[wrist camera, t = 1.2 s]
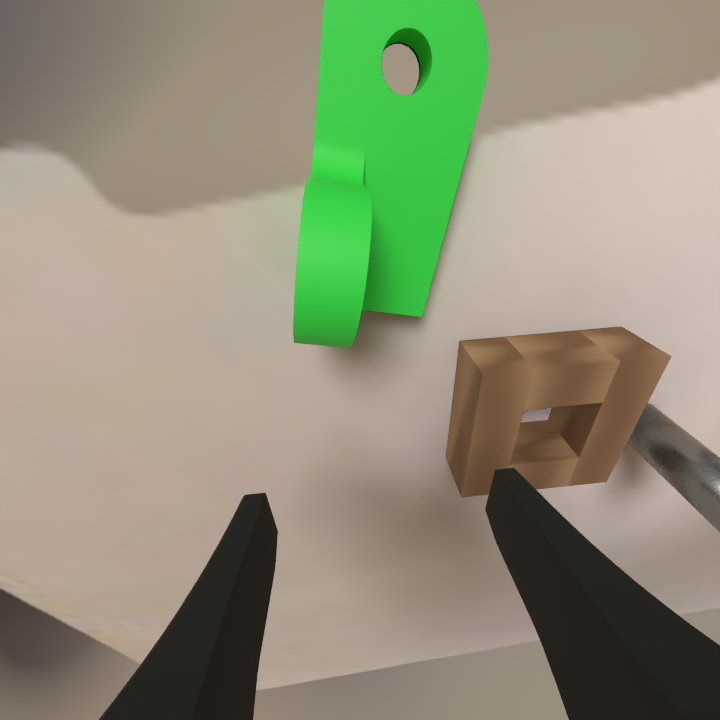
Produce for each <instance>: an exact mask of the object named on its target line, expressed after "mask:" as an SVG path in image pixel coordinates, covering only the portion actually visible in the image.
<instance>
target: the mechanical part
mask: <svg viewBox="0 0 720 720" xmlns="http://www.w3.org/2000/svg"><path fill="white" fill-rule="evenodd" d="M393 44H403V45H405V46H407V47H409V48H410V49H411V50H412V51H413V53H414V54H415V56H416V58H417V61H418V65H419V79H418V83H417V86H416V88H415V90H414V92H413V93H412V94H411V95H407V96H403V95H399V94H396V93H395V92H393V91H392V90H391V89H390V88H389V87H388V86H387V84H386V82H385V80H384V78H383V74H382V70H381V58H382V53H383V51H384V50H385V48H387V47H389V46H391V45H393ZM487 63H488V49H487V39H486V32H485V26H484V23H483V19H482V15H481V12H480V10H479V7H478V4H477V2H476V0H324V5H323V21H322V34H321V48H320V62H319V76H318V92H317V105H316V120H315V135H314V147H313V159H312V168H311V175H310V177H309V178H308V179H307V181H306V185H305V191H304V197H303V205H302V213H301V222H300V232H299V243H298V254H297V267H296V281H295V297H294V323H293V335H294V343H303V344H313V345H323V346H334V347H344V348H351V347H352V345H353V342H354V340H355V337H356V333H357V329H358V325H359V321H360V316H361V311H362V310H367V311H375V312H384V313H393V314H402V315H411V316H419V317H422V315H423V311H424V308H425V304H426V300H427V297H428V293H429V289H430V286H431V282H432V278H433V275H434V271H435V267H436V264H437V260H438V256H439V253H440V249H441V245H442V242H443V238H444V234H445V231H446V227H447V223H448V220H449V216H450V212H451V209H452V205H453V201H454V198H455V194H456V190H457V187H458V183H459V179H460V176H461V172H462V168H463V165H464V161H465V158H466V154H467V150H468V147H469V143H470V139H471V136H472V132H473V128H474V124H475V121H476V117H477V113H478V110H479V106H480V103H481V98H482V95H483V91H484V87H485V81H486V75H487Z"/></svg>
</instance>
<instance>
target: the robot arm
mask: <svg viewBox="0 0 720 720" xmlns="http://www.w3.org/2000/svg"><path fill="white" fill-rule="evenodd" d="M485 510H486V513H487V516H488V519H489V522H490V525H491V528H492V531H493V534H494V537H495V540H496V543H497V545H498V547H499V550H500V552H501V554H502V556H503V558H504V561H505V563H506V565H507V567H508V569H509V572H510V574H511V576H512V578H513V580H514V582H515V585H516V587H517V589H518V591H519V593H520V596H521V598H522V600H523V602H524V604H525V606H526V609H527V611H528V613H529V615H530V617H531V619H532V622H533V624H534V626H535V629H536V631H537V633H538V636H539V638H540V641H541V643H542V646H543V648H544V651H545V654H546V657H547V659H548V662H549V665H550V668H551V670H552V673H553V676H554V678H555V681H556V684H557V687H558V690H559V692H560V695H561V698H562V701H563V704H564V707H565V710H566V713H567V715H568V718H569V720H720V645H718V644H717V643H716V642H714V641H713V640H711V639H710V638H709V637H707V636H706V635H704V634H703V633H702V632H700V631H699V630H697V629H696V628H695V627H693V626H692V625H690V624H689V623H688V622H686V621H685V620H683V618H681V617H680V616H679V615H677V614H676V613H675V612H673V611H672V610H671V609H669V608H668V607H667V606H666V605H664V604H663V603H662V602H660V601H659V600H658V599H657V598H655V597H654V596H653V595H652V594H650V593H649V592H648V591H647V590H645V589H644V588H643V587H642V586H640V585H639V584H638V583H637V582H635V581H634V580H633V579H632V578H631V577H629V576H628V575H627V574H626V573H625V572H624V571H622V570H621V569H620V568H619V567H618V566H616V565H615V564H614V563H613V562H612V561H611V560H610V559H609V558H607V557H606V556H605V555H604V554H603V553H602V552H601V551H599V550H598V549H597V548H596V547H595V546H594V545H593V544H592V543H591V542H589V541H588V540H587V539H586V538H585V537H584V536H583V535H582V534H581V533H580V532H579V531H578V530H577V529H576V528H575V527H573V526H572V525H571V524H570V523H569V522H568V521H567V520H566V519H565V518H564V517H563V516H562V515H561V514H560V513H559V512H558V511H557V510H556V509H555V508H554V507H553V506H552V505H551V504H550V503H549V502H548V501H547V500H546V499H545V498H544V497H543V496H542V495H541V494H540V493H539V492H538V491H537V490H536V489H535V488H534V487H533V486H532V485H531V484H530V483H529V482H528V481H527V480H526V479H525V478H524V477H523V476H522V475H521V474H520V473H519V472H518V471H517V470H516V469H515V468H506V469H496V470H495V472H494V476H493V480H492V484H491V488H490V492H489V496H488V500H487V505H486V509H485ZM277 534H278V531H277V528H276V524H275V521H274V518H273V515H272V512H271V509H270V506H269V502H268V499H267V496H266V493H259V494H250V495H245V496H244V497H243V498H242V500H241V502H240V504H239V506H238V508H237V510H236V512H235V514H234V516H233V518H232V520H231V522H230V524H229V526H228V528H227V530H226V531H225V533H224V535H223V537H222V539H221V541H220V542H219V544H218V546H217V548H216V549H215V551H214V553H213V555H212V556H211V558H210V560H209V562H208V563H207V565H206V567H205V568H204V570H203V572H202V574H201V575H200V577H199V579H198V580H197V582H196V583H195V585H194V586H193V588H192V590H191V591H190V593H189V594H188V596H187V598H186V599H185V601H184V602H183V604H182V605H181V607H180V609H179V610H178V612H177V613H176V615H175V616H174V618H173V619H172V621H171V622H170V624H169V625H168V627H167V628H166V630H165V631H164V633H163V634H162V636H161V637H160V638H159V640H158V641H157V643H156V644H155V645H154V647H153V648H152V650H151V651H150V653H149V654H148V655H147V657H146V658H145V660H144V661H143V662H142V664H141V665H140V666H139V668H138V669H137V670H136V672H135V673H134V675H133V676H132V677H131V678H130V680H129V681H128V682H127V684H126V685H125V686H124V688H123V689H122V690H121V692H120V693H119V694H118V696H117V697H116V698H115V700H114V701H113V702H112V704H111V705H110V706H109V707H108V709H107V710H106V711H105V712H104V714H103V715H102V716H101V718H100V719H99V720H253V714H254V703H255V693H256V683H257V674H258V666H259V659H260V653H261V647H262V641H263V636H264V630H265V624H266V618H267V612H268V607H269V601H270V595H271V589H272V583H273V577H274V571H275V563H276V550H277Z"/></svg>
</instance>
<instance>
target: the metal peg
mask: <svg viewBox="0 0 720 720" xmlns="http://www.w3.org/2000/svg"><path fill="white" fill-rule="evenodd" d="M627 442H628V443H629V444H630V445H631V446H632V447H633V448H634V449H635V450H636V451H637V452H638V453H639V454H640V455H641V456H642V457H643V458H644V459H645V460H646V461H647V462H648V463H649V464H650V465H651V466H652V467H653V468H654V469H655V470H656V471H657V472H658V473H659V474H660V475H661V476H663V477H664V478H665V479H666V480H667V481H668V482H669V483H670V484H671V485H672V486H673V487H674V488H675V489H676V490H677V491H678V492H679V493H680V494H681V495H682V496H683V497H684V498H685V499H686V500H687V501H688V502H689V503H690V504H691V505H692V506H693V507H694V508H695V509H696V510H697V511H698V512H699V513H700V514H702V515H703V516H704V517H705V518H706V519H707V520H708V521H709V522H710V523H711V524H712V525H713V526H714V527H715V528H716V529H717V530H718V531H719V532H720V457H718V456H717V455H716V454H714V453H713V452H712V451H711V450H709V449H708V448H707V447H705V446H704V445H703V444H702V443H700V442H699V441H698V440H697V439H695V438H694V437H693V436H691V435H690V434H689V433H688V432H686V431H685V430H684V429H682V428H681V427H680V426H679V425H677V424H676V423H675V422H674V421H672V420H671V419H670V418H668V417H667V416H666V415H665V414H663V413H662V412H661V411H660V410H658V409H657V408H656V407H654V406H653V405H652V404H648V403H647V405H646V407H645V409H644V410H643V412H642V414H641V416H640V418H639V420H638V422H637V424H636V426H635V428H634V430H633V432H632V434H631V436H630V437H629V439H628V441H627Z"/></svg>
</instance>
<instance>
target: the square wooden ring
mask: <svg viewBox="0 0 720 720" xmlns="http://www.w3.org/2000/svg"><path fill="white" fill-rule="evenodd" d="M670 358H671V356H670V355H668V354H666V353H665V352H663V351H661V350H660V349H658V348H656V347H655V346H653V345H651V344H650V343H648V342H646V341H645V340H643V339H641V338H640V337H638V336H636V335H635V334H633V333H631V332H630V331H628V330H626V329H625V328H623V327H612V328H601V329H589V330H578V331H566V332H555V333H544V334H532V335H521V336H510V337H498V338H487V339H475V340H464V341H460V342H459V351H458V359H457V368H456V376H455V385H454V393H453V402H452V410H451V418H450V427H449V435H448V444H447V452H446V458H447V461H448V463H449V466H450V469H451V471H452V474H453V476H454V479H455V482H456V484H457V487H458V489H459V492H460V495H461V497H468V496H478V495H487V494H489V492H490V488H491V484H492V480H493V476H494V472H495V470H496V469H506V468H515V469H516V470H517V471H518V472H519V473H520V474H521V475H522V476H523V477H524V478H525V479H526V480H527V481H528V482H529V483H530V484H531V485H532V486H533V487H534V488H535V489H544V488H553V487H563V486H572V485H582V484H591V483H600V482H607V480H608V478H609V476H610V474H611V472H612V470H613V468H614V466H615V465H616V463H617V461H618V459H619V457H620V455H621V453H622V451H623V449H624V447H625V445H626V443H627V441H628V439H629V437H630V436H631V434H632V432H633V430H634V428H635V426H636V424H637V422H638V420H639V418H640V416H641V414H642V412H643V410H644V409H645V407H646V405H647V403H648V401H649V399H650V397H651V395H652V393H653V391H654V389H655V387H656V385H657V383H658V381H659V380H660V378H661V376H662V374H663V372H664V370H665V368H666V366H667V364H668V362H669V360H670ZM552 407H553V408H552ZM542 408H552V411H551V414H550V417H549V420H546V421H536V422H526V423H521V420H522V416H523V413H524V410H531V409H542Z"/></svg>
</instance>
